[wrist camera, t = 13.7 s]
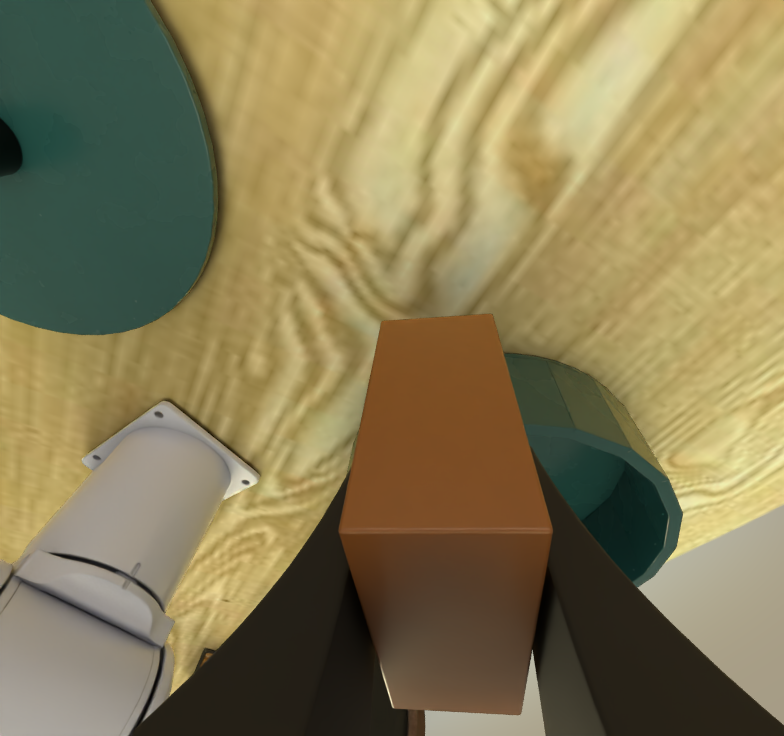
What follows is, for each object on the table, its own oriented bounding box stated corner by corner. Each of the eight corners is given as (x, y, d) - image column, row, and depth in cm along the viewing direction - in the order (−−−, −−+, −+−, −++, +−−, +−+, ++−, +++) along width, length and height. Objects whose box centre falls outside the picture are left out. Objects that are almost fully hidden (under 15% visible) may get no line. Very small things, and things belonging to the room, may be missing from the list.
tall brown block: (402, 489, 15) (388, 709, 10) (378, 319, 11) (331, 532, 6) (490, 487, 15) (525, 717, 9) (495, 312, 11) (561, 531, 5)
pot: (483, 571, 32) (492, 648, 28) (304, 469, 27) (279, 544, 23) (693, 463, 24) (752, 548, 20) (493, 289, 19) (513, 351, 14)
